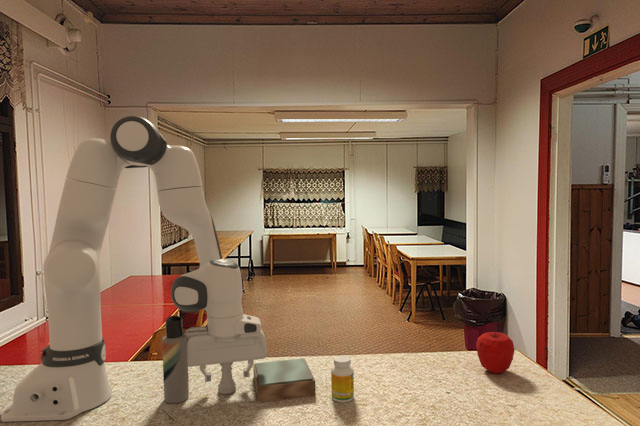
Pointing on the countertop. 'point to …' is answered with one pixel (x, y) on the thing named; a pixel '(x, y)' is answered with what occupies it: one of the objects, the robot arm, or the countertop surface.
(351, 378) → the supplement bottle
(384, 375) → the countertop surface
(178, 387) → the lotion bottle
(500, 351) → the apple
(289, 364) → the walnut plinth
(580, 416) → the countertop surface
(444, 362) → the countertop surface
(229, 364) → the rook chess piece
